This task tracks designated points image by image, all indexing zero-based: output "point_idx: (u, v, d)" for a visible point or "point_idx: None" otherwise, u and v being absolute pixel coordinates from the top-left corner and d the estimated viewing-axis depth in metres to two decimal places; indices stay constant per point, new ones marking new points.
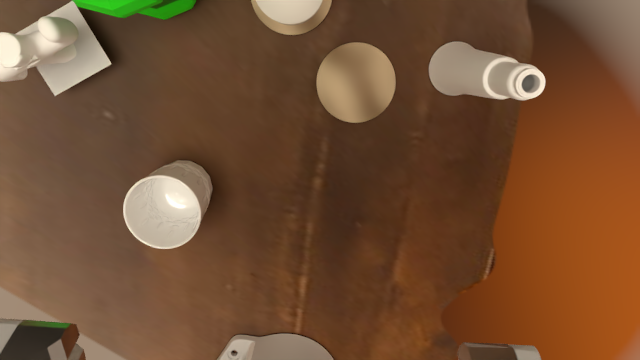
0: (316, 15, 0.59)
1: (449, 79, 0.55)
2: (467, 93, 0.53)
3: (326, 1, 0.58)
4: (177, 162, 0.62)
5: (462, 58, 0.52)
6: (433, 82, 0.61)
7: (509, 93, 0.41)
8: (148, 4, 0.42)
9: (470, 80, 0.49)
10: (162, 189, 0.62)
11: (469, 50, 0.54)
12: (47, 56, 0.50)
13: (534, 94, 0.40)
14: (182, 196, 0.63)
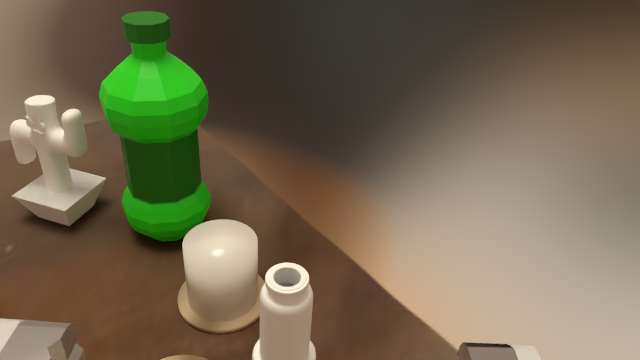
0: (218, 322, 0.51)
1: None
2: None
3: (238, 321, 0.52)
4: None
5: None
6: None
7: None
8: (127, 114, 0.50)
9: None
10: None
11: None
12: (47, 142, 0.58)
13: (279, 287, 0.26)
14: None
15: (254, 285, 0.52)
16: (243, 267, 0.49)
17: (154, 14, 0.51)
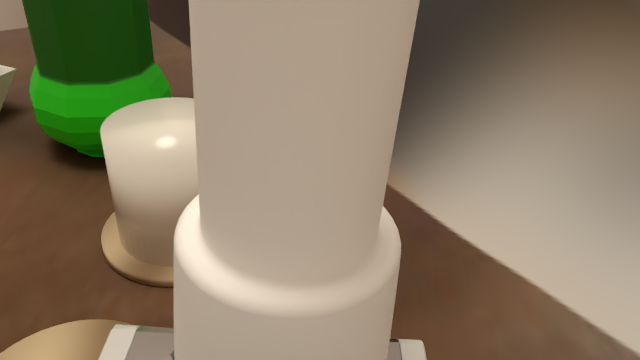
0: (167, 268, 0.30)
1: None
2: None
3: None
4: None
5: None
6: None
7: None
8: None
9: None
10: None
11: None
12: None
13: None
14: None
15: None
16: None
17: None
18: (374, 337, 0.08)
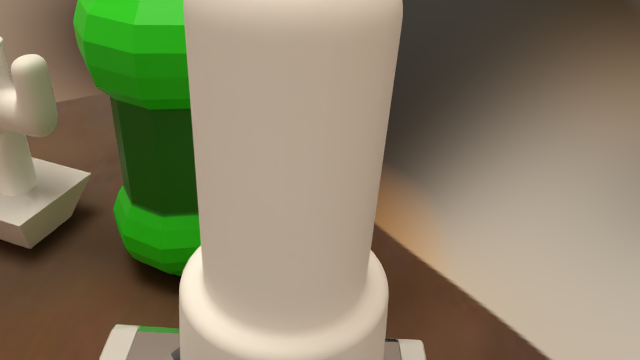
0: None
1: None
2: None
3: None
4: None
5: None
6: None
7: None
8: (123, 50, 0.27)
9: None
10: None
11: None
12: None
13: None
14: None
15: None
16: None
17: None
18: None
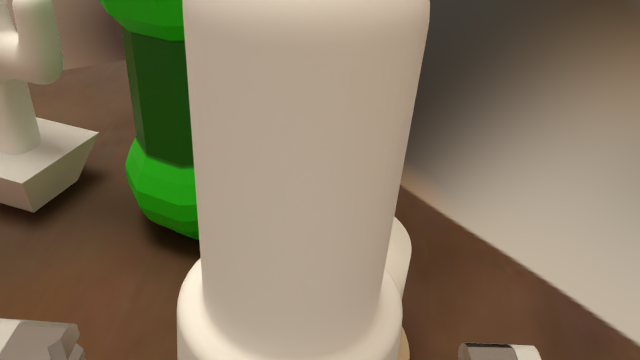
0: None
1: None
2: None
3: None
4: None
5: None
6: None
7: None
8: None
9: None
10: None
11: None
12: None
13: None
14: None
15: None
16: None
17: None
18: None
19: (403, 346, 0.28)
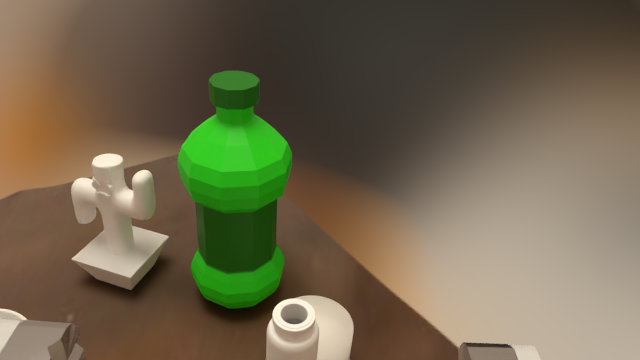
0: None
1: None
2: None
3: None
4: None
5: None
6: None
7: (267, 327, 0.28)
8: (214, 185, 0.46)
9: None
10: None
11: None
12: (114, 204, 0.54)
13: (286, 325, 0.27)
14: None
15: None
16: (341, 355, 0.45)
17: (242, 75, 0.47)
18: None
19: None
